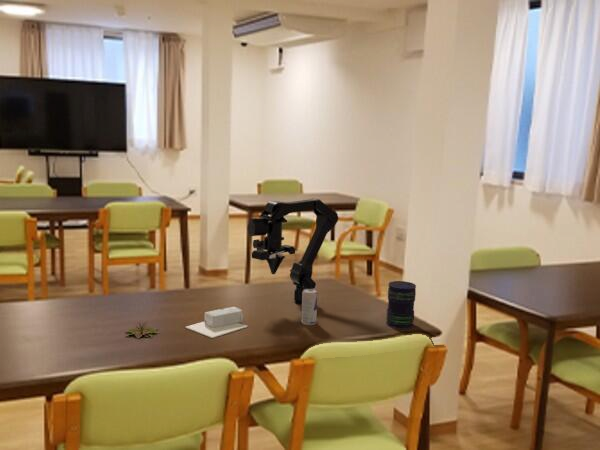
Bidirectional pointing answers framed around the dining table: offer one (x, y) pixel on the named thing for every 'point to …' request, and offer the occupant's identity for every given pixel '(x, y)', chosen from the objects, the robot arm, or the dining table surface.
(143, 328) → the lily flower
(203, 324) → the mat
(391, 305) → the storage jar
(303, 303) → the energy drink
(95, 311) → the dining table surface
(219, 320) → the skincare box
